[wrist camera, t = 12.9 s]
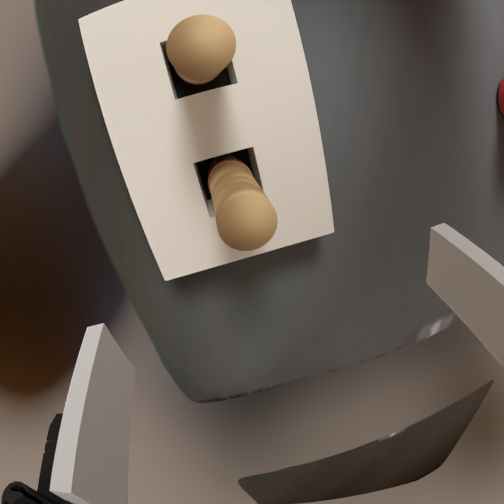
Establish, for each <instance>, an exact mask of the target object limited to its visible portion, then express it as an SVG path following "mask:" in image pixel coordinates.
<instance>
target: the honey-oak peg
mask: <svg viewBox="0 0 504 504" xmlns="http://www.w3.org/2000/svg"><path fill="white" fill-rule="evenodd" d="M208 187H209V191H210V193H211V196H212V202H213V208H214V213H215V219H216V224H217V229H218V233H219V236H220V237H221V239H222V240H223V242H224V243H225V244H226V245H228V246H229V247H231V248H233V249H236V250H239V251H251V250H255V249H258V248H260V247H262V246H264V245H265V244H266V243H268V242H269V241H270V240H271V238H272V237H273V235H274V234H275V232H276V229H277V224H278V218H277V213H276V211H275V208H274V207H273V205H272V204H271V202H270V201H269V199H268V198H267V196H266V195H265V193H264V192H263V191H262V189H261V188H260V186H259V185H258V183H257V182H256V180H255V179H254V177H253V175H252V173H251V171H250V169H249V168H248V167H247V166H246V165H245V164H244V163H243V162H242V161H241V160H240V159H239V158H237V157H235V156H234V155H232V154H223V155H220V156H216V157H215V158H214V159H213V160H212V162H211V163H210V167H209V171H208Z"/></svg>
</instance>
